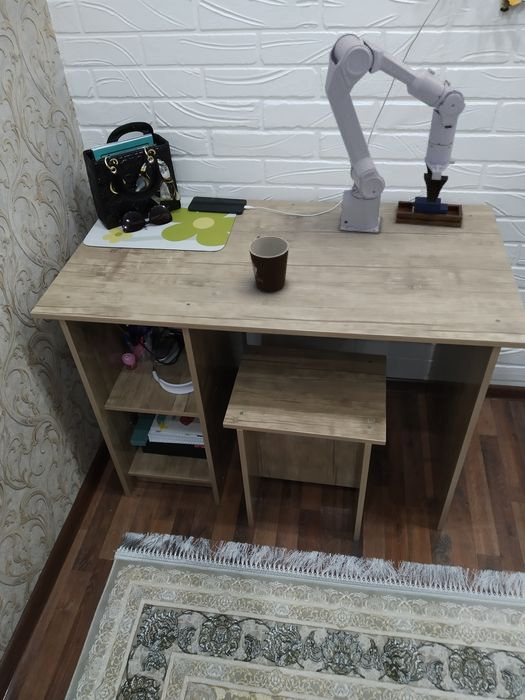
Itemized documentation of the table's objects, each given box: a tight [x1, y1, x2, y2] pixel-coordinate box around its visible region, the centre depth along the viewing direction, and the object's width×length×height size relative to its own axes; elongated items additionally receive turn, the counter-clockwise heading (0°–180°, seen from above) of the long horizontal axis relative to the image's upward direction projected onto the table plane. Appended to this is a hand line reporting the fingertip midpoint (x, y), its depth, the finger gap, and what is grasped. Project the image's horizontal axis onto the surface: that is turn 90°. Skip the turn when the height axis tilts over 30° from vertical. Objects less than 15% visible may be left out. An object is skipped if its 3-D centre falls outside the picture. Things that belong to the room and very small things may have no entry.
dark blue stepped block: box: [412, 196, 449, 215], centre depth 146 cm, size 9×4×4 cm, turn 77°
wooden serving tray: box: [395, 200, 463, 229], centre depth 147 cm, size 16×8×2 cm, turn 77°
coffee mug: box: [248, 235, 290, 294], centre depth 127 cm, size 12×9×10 cm
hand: (431, 193), depth 143 cm, fingers open, 7 cm apart
